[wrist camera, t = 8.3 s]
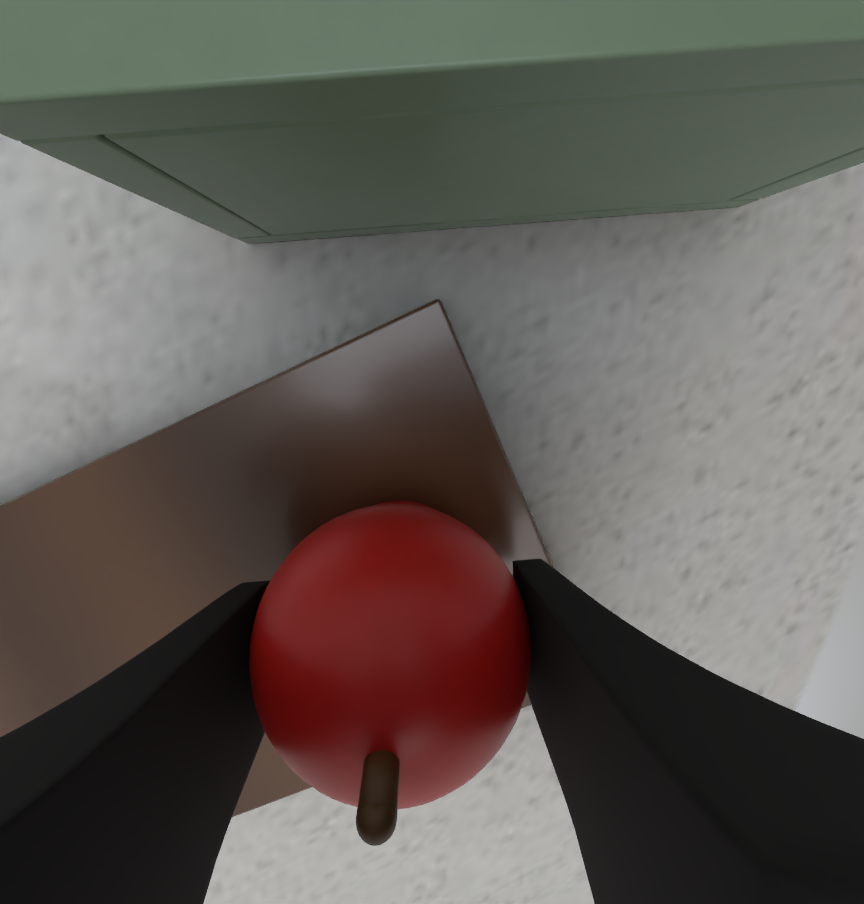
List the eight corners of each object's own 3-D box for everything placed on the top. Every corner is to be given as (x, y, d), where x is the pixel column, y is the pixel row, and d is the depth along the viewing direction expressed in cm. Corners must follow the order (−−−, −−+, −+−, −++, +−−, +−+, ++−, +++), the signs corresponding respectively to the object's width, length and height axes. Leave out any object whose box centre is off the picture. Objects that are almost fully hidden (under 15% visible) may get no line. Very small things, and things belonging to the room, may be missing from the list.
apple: (542, 520, 11) (681, 757, 5) (447, 679, 12) (469, 1019, 6) (345, 431, 10) (235, 582, 4) (266, 609, 12) (98, 915, 6)
